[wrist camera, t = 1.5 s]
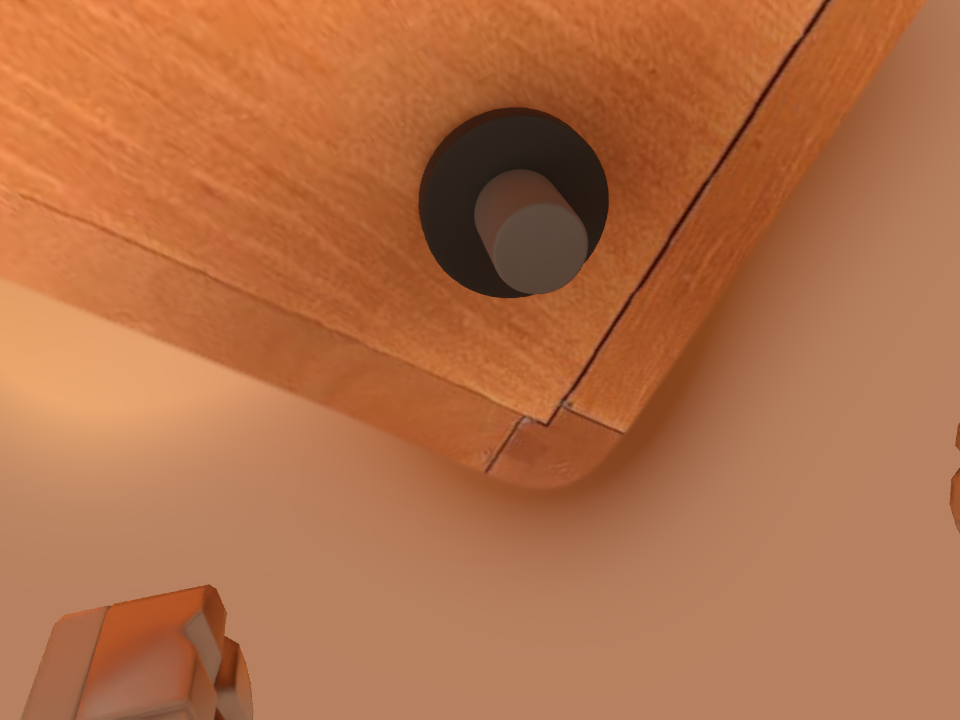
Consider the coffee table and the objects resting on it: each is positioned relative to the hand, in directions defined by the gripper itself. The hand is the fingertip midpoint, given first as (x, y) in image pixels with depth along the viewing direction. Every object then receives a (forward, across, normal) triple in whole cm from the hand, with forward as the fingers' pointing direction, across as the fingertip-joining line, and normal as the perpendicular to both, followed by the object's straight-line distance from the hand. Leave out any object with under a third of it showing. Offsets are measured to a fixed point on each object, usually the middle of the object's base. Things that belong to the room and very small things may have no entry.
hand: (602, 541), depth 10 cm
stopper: (+19, -2, +2) cm, 19 cm away
